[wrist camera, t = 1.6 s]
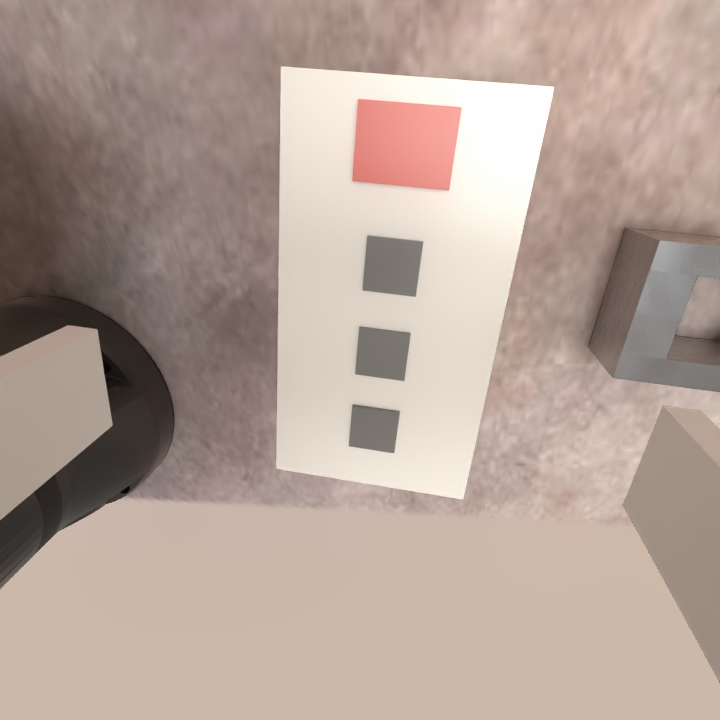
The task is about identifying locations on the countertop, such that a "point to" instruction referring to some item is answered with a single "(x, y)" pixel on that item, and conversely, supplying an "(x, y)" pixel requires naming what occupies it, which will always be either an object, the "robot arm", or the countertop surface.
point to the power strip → (396, 268)
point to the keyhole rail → (657, 311)
